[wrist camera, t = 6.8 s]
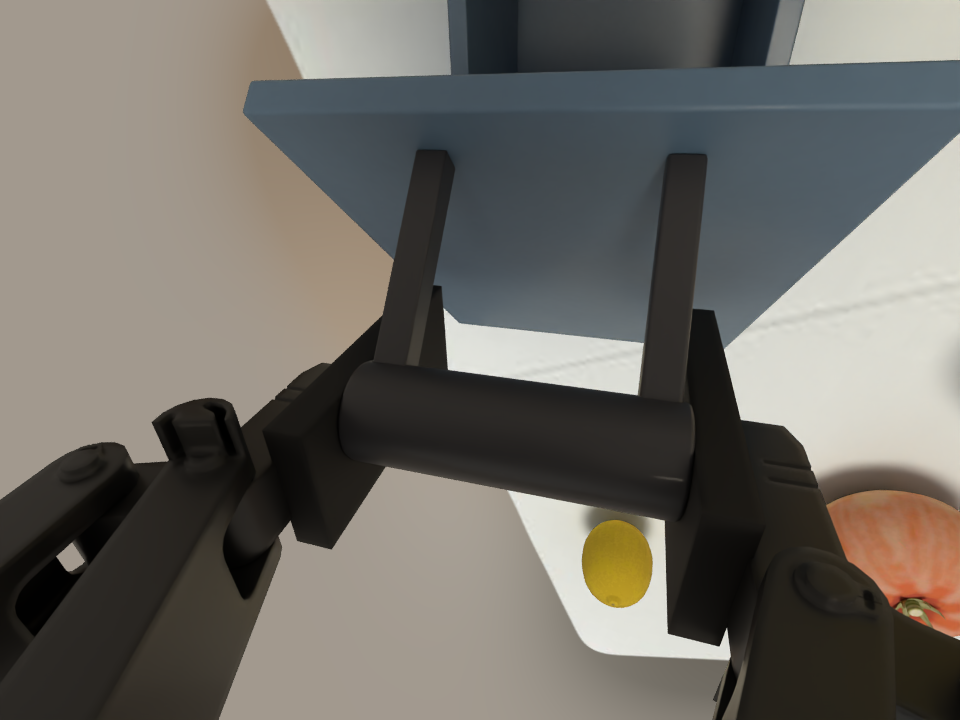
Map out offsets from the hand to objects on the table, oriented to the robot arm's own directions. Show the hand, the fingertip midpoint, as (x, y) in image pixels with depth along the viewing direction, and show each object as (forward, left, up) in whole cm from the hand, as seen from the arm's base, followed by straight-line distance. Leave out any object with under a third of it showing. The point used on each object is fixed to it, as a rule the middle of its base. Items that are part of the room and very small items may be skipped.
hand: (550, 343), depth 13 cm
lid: (0, -1, -5) cm, 5 cm away
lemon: (+10, +27, -21) cm, 36 cm away
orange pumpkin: (-8, +30, -21) cm, 38 cm away
